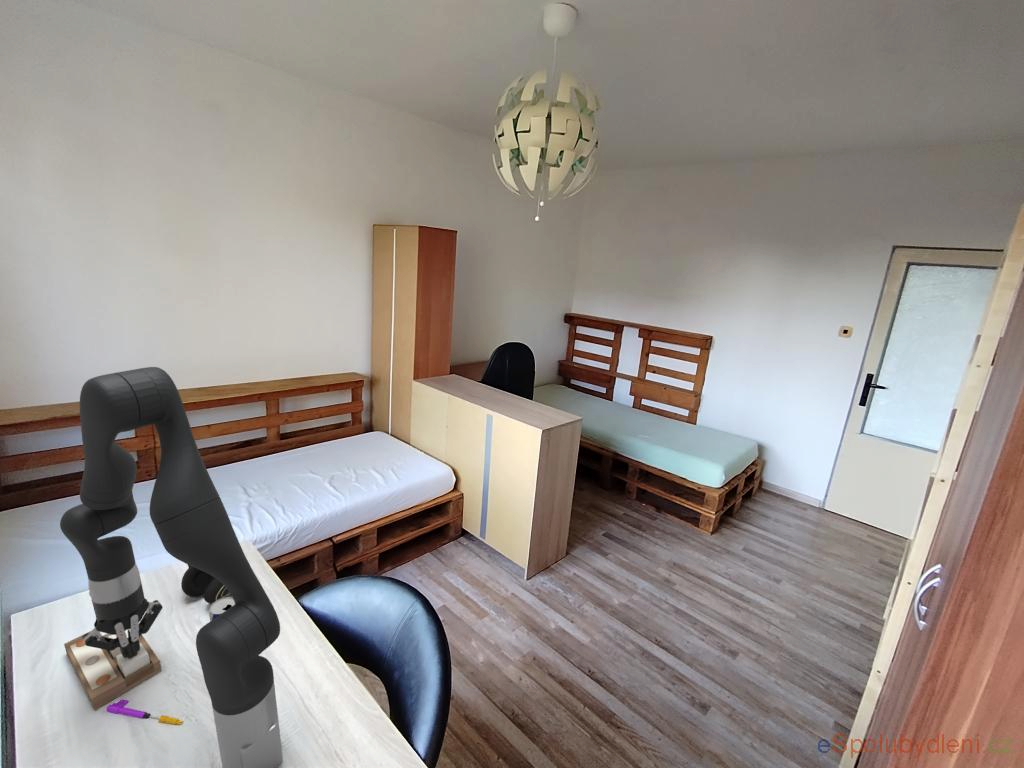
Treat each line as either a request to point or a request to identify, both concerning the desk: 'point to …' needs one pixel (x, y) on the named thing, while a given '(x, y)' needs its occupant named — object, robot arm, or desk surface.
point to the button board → (106, 671)
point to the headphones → (203, 585)
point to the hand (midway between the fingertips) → (131, 654)
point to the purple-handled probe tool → (139, 713)
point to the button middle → (117, 650)
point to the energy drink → (220, 607)
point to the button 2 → (133, 662)
